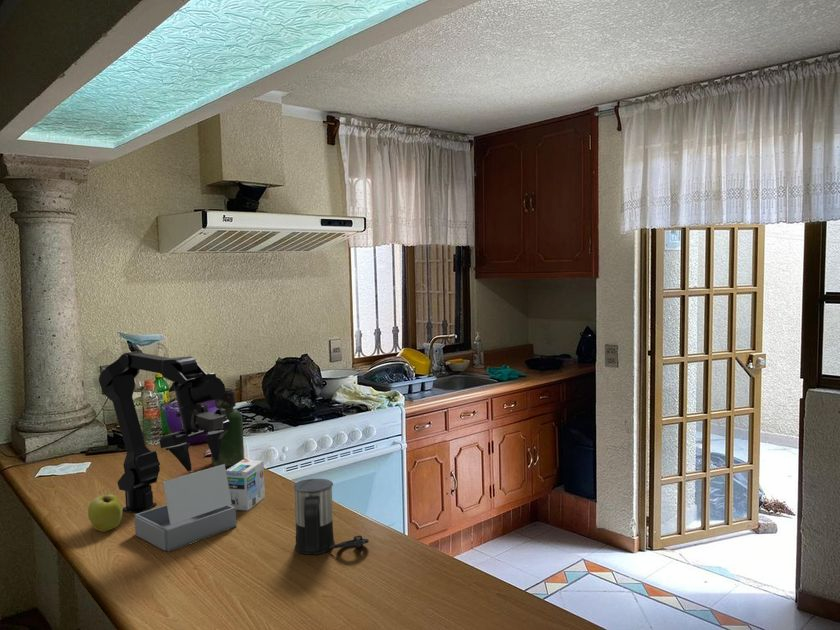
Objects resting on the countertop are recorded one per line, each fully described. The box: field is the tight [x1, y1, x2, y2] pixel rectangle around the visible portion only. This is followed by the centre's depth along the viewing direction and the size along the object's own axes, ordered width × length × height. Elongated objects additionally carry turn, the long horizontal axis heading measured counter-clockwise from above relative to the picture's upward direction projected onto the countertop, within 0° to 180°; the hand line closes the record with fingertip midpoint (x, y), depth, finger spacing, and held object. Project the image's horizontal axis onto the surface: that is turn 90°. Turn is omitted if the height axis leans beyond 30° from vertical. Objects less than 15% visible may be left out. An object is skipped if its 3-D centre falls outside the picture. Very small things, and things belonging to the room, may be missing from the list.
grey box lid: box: [162, 464, 232, 525], centre depth 152 cm, size 1×16×10 cm, turn 141°
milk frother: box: [292, 478, 369, 555], centre depth 145 cm, size 14×16×15 cm
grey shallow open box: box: [134, 504, 237, 553], centre depth 157 cm, size 16×19×5 cm
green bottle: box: [210, 387, 245, 468], centre depth 211 cm, size 10×10×25 cm
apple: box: [87, 491, 124, 533], centre depth 158 cm, size 8×8×10 cm
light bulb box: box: [226, 459, 266, 511], centre depth 175 cm, size 11×7×11 cm, turn 168°
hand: (203, 465), depth 161 cm, fingers open, 9 cm apart
